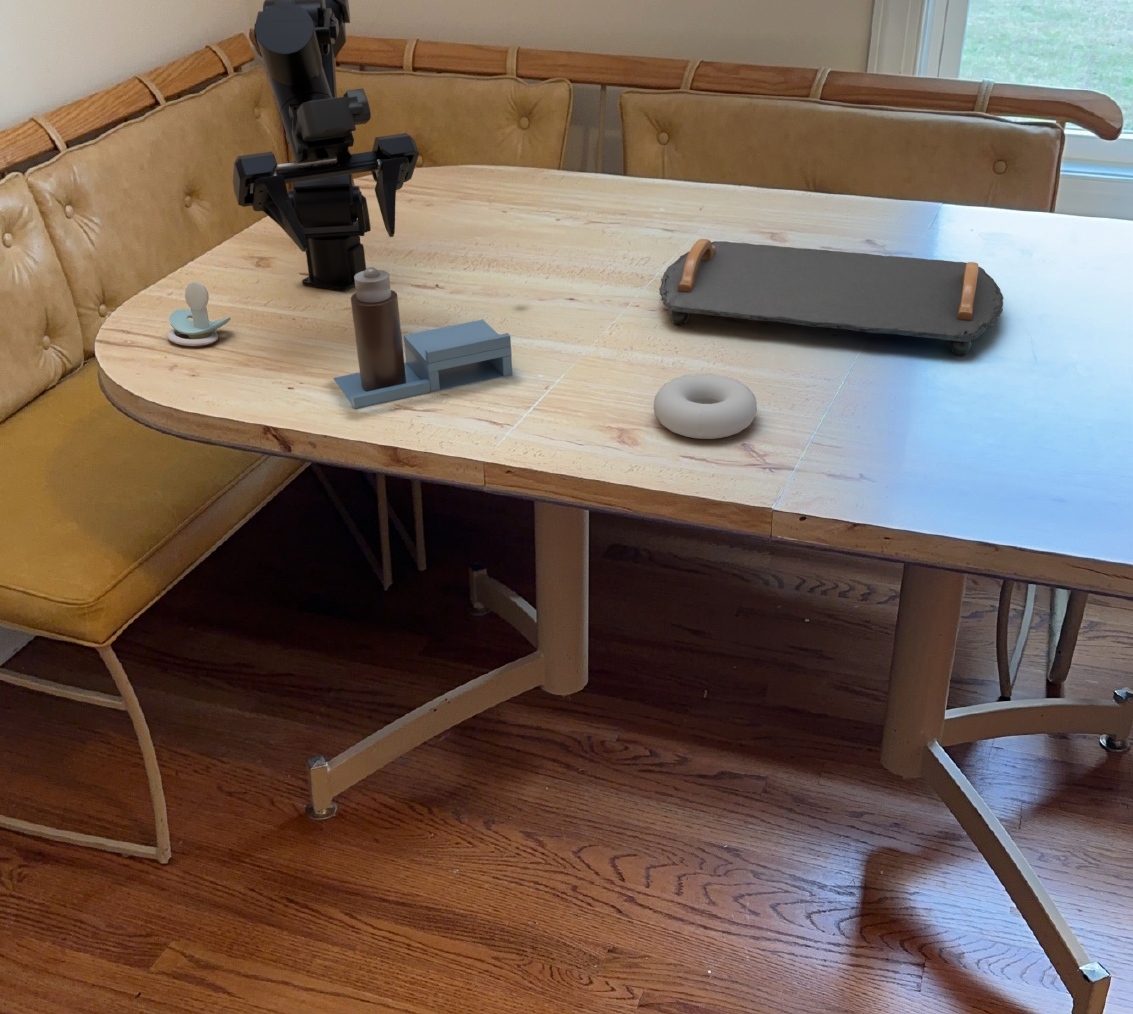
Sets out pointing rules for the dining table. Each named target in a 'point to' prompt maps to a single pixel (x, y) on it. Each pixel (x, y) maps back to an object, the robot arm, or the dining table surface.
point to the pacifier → (194, 319)
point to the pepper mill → (377, 331)
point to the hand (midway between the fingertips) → (349, 242)
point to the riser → (440, 363)
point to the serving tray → (834, 290)
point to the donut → (705, 406)
